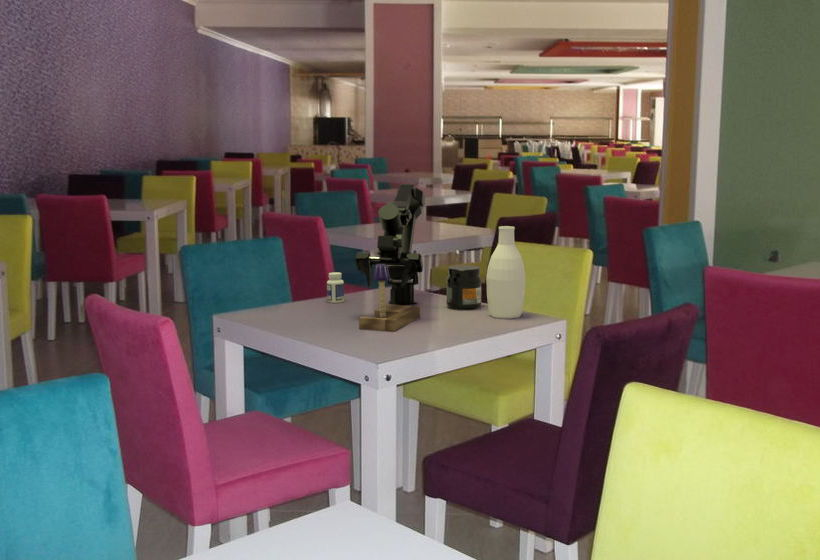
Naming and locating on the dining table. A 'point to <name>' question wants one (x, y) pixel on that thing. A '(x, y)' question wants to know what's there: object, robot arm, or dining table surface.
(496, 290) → the bottle
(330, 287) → the pill bottle
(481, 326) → the dining table surface
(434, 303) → the dining table surface
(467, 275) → the supplement container
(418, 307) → the notched board
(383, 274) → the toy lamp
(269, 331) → the dining table surface
